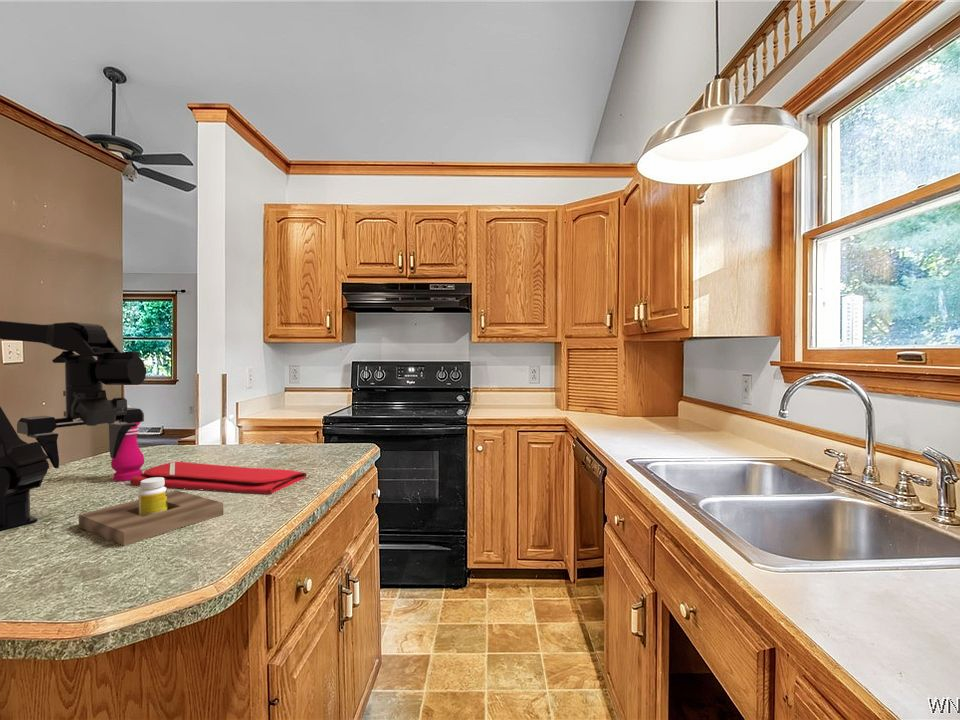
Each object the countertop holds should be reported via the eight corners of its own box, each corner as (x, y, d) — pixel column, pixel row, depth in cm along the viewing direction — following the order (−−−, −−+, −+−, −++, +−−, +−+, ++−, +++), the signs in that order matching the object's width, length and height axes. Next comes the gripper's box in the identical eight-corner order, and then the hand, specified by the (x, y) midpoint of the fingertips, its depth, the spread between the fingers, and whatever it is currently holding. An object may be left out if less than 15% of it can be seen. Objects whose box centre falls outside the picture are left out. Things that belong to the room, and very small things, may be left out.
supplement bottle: (171, 519, 94) (171, 478, 94) (145, 526, 90) (144, 484, 90) (161, 515, 97) (160, 475, 97) (134, 522, 93) (133, 480, 93)
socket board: (79, 527, 90) (78, 514, 90) (176, 501, 106) (176, 490, 106) (123, 546, 81) (123, 532, 81) (223, 514, 97) (223, 502, 97)
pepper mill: (140, 473, 130) (139, 402, 130) (148, 477, 126) (147, 404, 125) (108, 479, 125) (106, 405, 124) (115, 483, 120) (113, 407, 120)
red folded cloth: (270, 497, 110) (269, 481, 110) (128, 487, 118) (127, 473, 118) (307, 479, 126) (307, 465, 126) (179, 472, 134) (179, 459, 134)
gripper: (38, 390, 80) (40, 479, 81) (156, 383, 97) (158, 457, 97) (14, 388, 86) (16, 471, 86) (130, 382, 102) (131, 452, 102)
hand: (85, 462), depth 93 cm, fingers open, 9 cm apart
